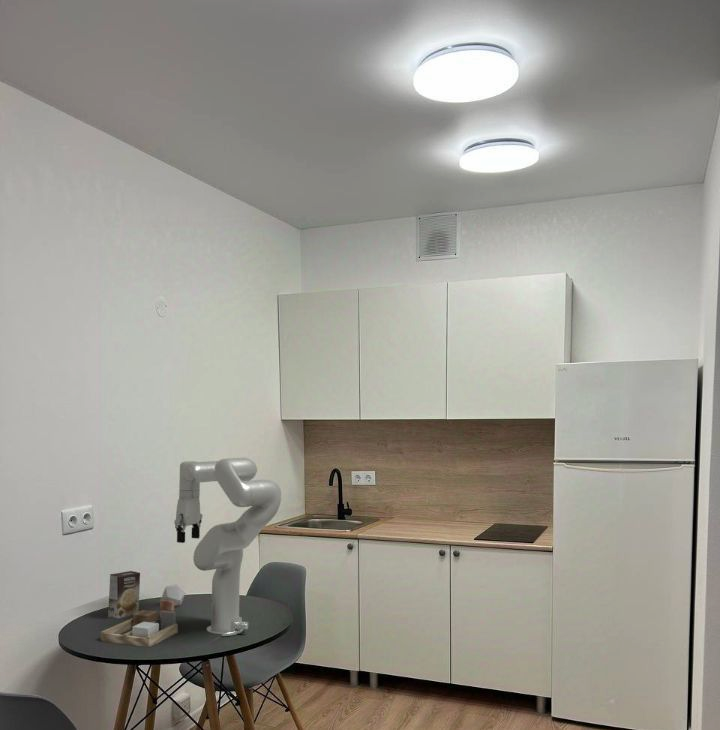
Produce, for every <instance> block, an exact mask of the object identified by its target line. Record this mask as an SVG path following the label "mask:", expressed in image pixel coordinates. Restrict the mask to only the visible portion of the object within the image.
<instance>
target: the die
mask: <svg viewBox="0 0 720 730" xmlns="http://www.w3.org/2000/svg"><path fill="white" fill-rule="evenodd" d="M185 595H186V592H185V590H184V589H182V588H181V586H180V585H178V583H177V584H173V585H167V586H165V588H164V590H163V593H162V595H161V596H160V597H161V598H160V601H161V600H169V601H174V608H175V607H179V606H181V605H182V603H183V601H184V599H185V598H184V597H185Z"/></svg>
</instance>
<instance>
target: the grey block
mask: <svg viewBox="0 0 720 730" xmlns="http://www.w3.org/2000/svg"><path fill="white" fill-rule="evenodd" d="M160 619H161V621H160V623H159V622H158V623H150V622H142V623H140V624H138V625H135V626H133V627H132V629H131V631H132V636H135V637H143V638H146V637H148V636H150V635H152V634H154V633H156V632H158V631H160V630H162V629H165V628H167V627H169V626H171V625H173V624H177V612H176V611H174V612H172V611H162V612H161V618H160Z"/></svg>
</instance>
